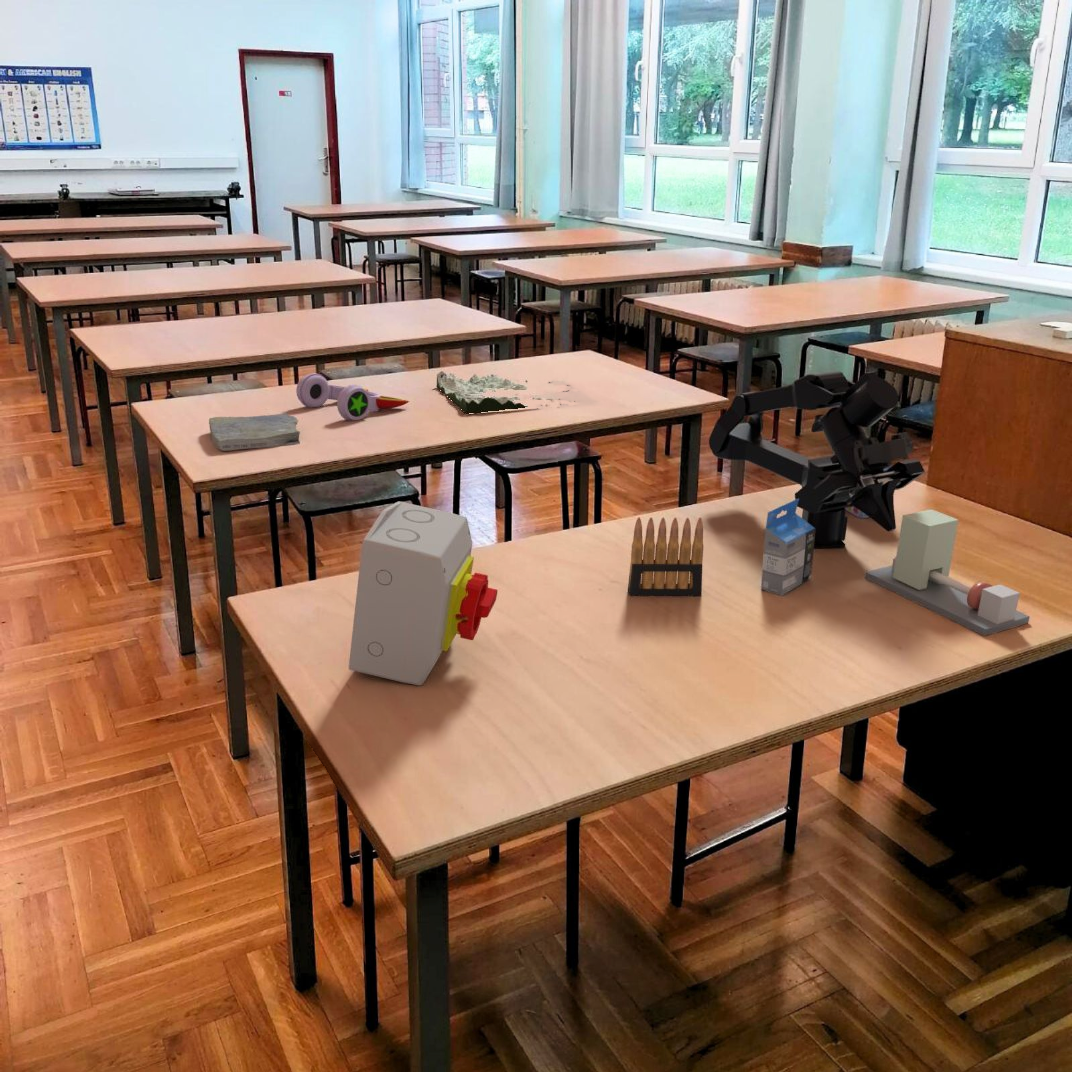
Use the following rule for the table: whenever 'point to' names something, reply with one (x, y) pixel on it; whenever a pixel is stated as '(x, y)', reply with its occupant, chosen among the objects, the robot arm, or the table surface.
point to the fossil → (253, 431)
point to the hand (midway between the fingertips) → (892, 530)
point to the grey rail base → (959, 600)
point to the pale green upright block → (924, 547)
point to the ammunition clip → (666, 561)
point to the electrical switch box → (415, 592)
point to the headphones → (343, 397)
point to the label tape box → (787, 550)
